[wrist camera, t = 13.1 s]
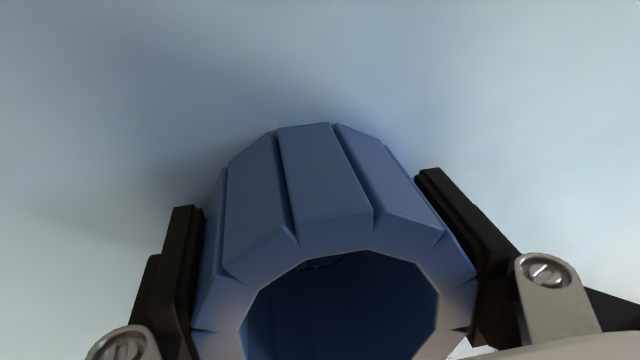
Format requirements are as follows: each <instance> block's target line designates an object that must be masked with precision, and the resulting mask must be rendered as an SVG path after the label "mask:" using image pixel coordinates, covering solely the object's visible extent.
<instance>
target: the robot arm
mask: <svg viewBox="0 0 640 360" xmlns="http://www.w3.org/2000/svg"><path fill="white" fill-rule="evenodd" d="M414 183H415V184H416V186H417V187H418V188H419V190H420V191H421V192H422V194H423V195H424V196H425V198H426V199H427V200H428V202H429V203H430V204H431V206H432V207H433V208H434V210H435V211H436V212H437V214H438V215H439V216H440V218H441V219H442V220H443V222H444V223H445V224H446V226H447V227H448V228H449V230H450V231H451V232H452V234H453V235H454V237H455V238H456V240H457V241H458V243H459V244H460V246H461V247H462V249H463V251H464V252H465V254H466V255H467V257H468V258H469V260H470V261H471V263H472V265H473V266H474V268H475V269H476V271H477V275H476V276H475V277H474V278H476V279H477V280H478V283H479V285H478V291H477V296H476V302H475V307H474V313H473V318H472V324H471V325H469V326H466V327H465V328H466V330H467V332H468V333H467V335H466V337H467V339H468V341H469V342H470V344H471V346H472V348H474V347H479V346H484V345H488V346H490V347H493V348H495V349H494V352H493V353H488V354H483V355H478V356H473V357H468V358H463V359H458V360H640V305H639V304H636V303H633V302H630V301H627V300H624V299H621V298H618V297H615V296H612V295H609V294H606V293H603V292H600V291H597V290H593V289H590V288H587V287H584V286H583V285H582V283H581V280H580V278H579V276H578V274H577V272H576V271H575V269H574V268H573V267H571V266H570V265H569V264H568V263H567V262H565V261H563V260H561V259H560V258H557V257H555V256H552V255H549V254H544V253H526V254H521V253H520V252H519V251H518V250H517V249H516V248H515V247H514V246H513V245H512V243H511V242H510V241H509V240H508V239H507V238H506V237H505V236H504V235H503V234H502V233H501V232H500V231H499V229H498V228H497V227H496V226H495V225H494V224H493V223H492V222H491V221H490V220H489V219H488V218H487V217H486V215H485V214H484V213H483V212H482V211H481V210H480V209H479V208H478V207H477V206H476V205H475V204H473V203H472V202H471V201H470V200H469V199H468V198H467V197H466V196H465V195H464V193H463V192H462V191H461V190H460V189H459V188H458V187H457V186H456V185H455V184H454V183H453V182H452V180H451V179H450V178H449V177H448V176H447V175H446V174H445V173H444V172H443V171H442V170H441V169H440V168H431V169H424V170H421V171H420V172H419V175H416V176H415V177H414ZM204 225H205V216H204V212H203V210H202V208H198V209H196V207H195V205H194V204H192V205H185V206H179V207H174V208H173V212H172V215H171V219H170V223H169V226H168V230H167V234H166V237H165V241H164V245H163V249H162V252H161V254H155V255H151V256H150V257H149V259H148V261H147V264H146V267H145V271H144V274H143V277H142V280H141V284H140V287H139V290H138V293H137V296H136V300H135V303H134V306H133V309H132V313H131V316H130V319H129V322H128V325H127V326H123V327H120V328H117V329H114V330H113V331H111V332H109V333H108V334H106V335H104V336H103V337H102V338H101V339H100V340H98V341H97V342H96V343H95V344H94V345H93V347H92V348H91V349H90V350H89V352H88V354H87V356H86V358H85V360H199V359H198V356H197V353H196V350H195V348H194V345H193V342H192V339H191V337H190V333H191V331H192V330H193V328H192V327H191V318H192V311H193V304H194V297H195V289H196V282H197V275H198V268H199V261H200V254H201V247H202V240H203V232H204Z"/></svg>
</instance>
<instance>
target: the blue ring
mask: <svg viewBox="0 0 640 360" xmlns="http://www.w3.org/2000/svg"><path fill="white" fill-rule="evenodd" d="M277 137H278V141H277V140H276V139H275V138H274V136H273V135H272V134H270V133H267V134H266V135H264V136H263V137H262V138H260V139H259V140H257V141H256V142H255V143H253V144H252V145H250V146H249V147H248V148H246V149H245V150H244V151H242V152H241V153H239V154H238V155H237V156H235V157H234V158H233V159H231V160H230V161H229V166H228V169H227V168H223V169H222V171H221V174H220V176H219V179H218V181H217V184H216V186H215V188H214V191H213V193H212V196H211V198H210V201H209V203H208V206H207V211H206V218H205V225H204V232H203V240H202V247H201V254H200V261H199V268H198V275H197V282H196V289H195V297H194V304H193V311H192V318H191V327H192V328H193V330H192V331H191V333H190V337H191V339H192V342H193V345H194V348H195V350H196V353H197V356H198V359H199V360H445V359H446V358H447V357H448V356H449V354H450V353H451V352H452V351H453V350H454V349H455V347H456V346H457V345H458V344H459V343H460V342H461V340H462V339H463V338H464V337H465V336H466V335H467V333H468V332H467V330H466V328H465V327H466V326H469V325H471V324H472V318H473V313H474V307H475V302H476V296H477V291H478V285H479V283H478V280H477V279H476V278H474V277H475V276H476V275H477V271H476V269H475V268H474V266H473V265H472V263H471V261H470V260H469V258H468V257H467V255H466V254H465V252H464V251H463V249H462V247H461V246H460V244H459V243H458V241H457V240H456V238H455V237H454V235H453V234H452V232H451V231H450V230H449V228H448V227H447V226H446V224H445V223H444V222H443V220H442V219H441V218H440V216H439V215H438V214H437V212H436V211H435V210H434V208H433V207H432V206H431V204H430V203H429V202H428V200H427V199H426V198H425V196H424V195H423V194H422V192H421V191H420V190H419V188H418V187H417V186H416V184H415V183H414V182H413V180H412V179H411V178H410V176H409V175H408V174H407V172H406V171H405V170H404V168H403V167H402V166H401V164H400V163H399V162H398V160H397V159H396V158H395V156H394V155H393V154H392V152H391V151H390V150H389V148H388V147H387V146H385V145H384V146H383V144H382V143H381V142H380V140H378V139H376V138H374V137H371V136H369V135H366V134H364V133H361V132H359V131H356V130H354V129H351V128H349V127H346V126H344V125H341V124H336V125H335V127H334V129H333V130H332V128H331V126H330V124H329V122H323V123H316V124H308V125H301V126H293V127H286V128H279V129H277ZM356 251H357V252H356ZM350 252H355V253H354V254H352V255H351V256H349V257H347V258H346V259H344V260H343V261H341V262H340V263H338V264H336V265H335V266H331V267H326V268H320V269H314V270H308V271H303V272H299V271H295V270H292V269H293V268H295V267H296V266H298V265H299V264H301V263H302V262H304V261H306V260H309V259H315V258H321V257H327V256H333V255H338V254H344V253H350Z"/></svg>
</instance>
